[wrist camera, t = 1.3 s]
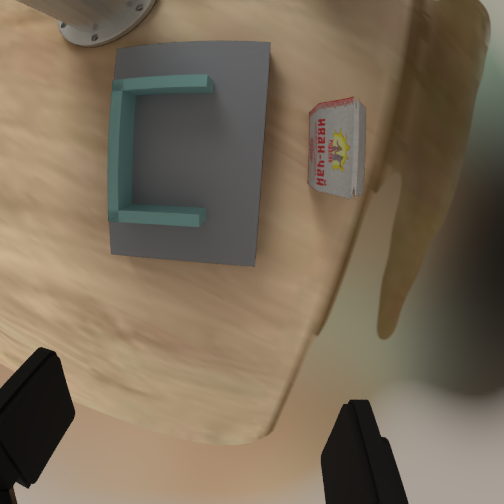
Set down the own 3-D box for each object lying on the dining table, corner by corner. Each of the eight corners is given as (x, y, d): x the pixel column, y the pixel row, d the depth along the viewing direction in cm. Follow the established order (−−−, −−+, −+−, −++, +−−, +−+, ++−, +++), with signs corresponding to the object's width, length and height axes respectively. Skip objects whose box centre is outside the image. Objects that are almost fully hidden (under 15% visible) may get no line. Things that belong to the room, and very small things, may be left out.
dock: (130, 56, 26) (103, 40, 20) (270, 52, 26) (270, 30, 20) (123, 245, 32) (96, 264, 27) (255, 256, 32) (252, 279, 26)
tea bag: (347, 115, 27) (383, 100, 18) (345, 185, 29) (380, 201, 20) (309, 112, 28) (329, 94, 18) (307, 183, 30) (326, 198, 20)
